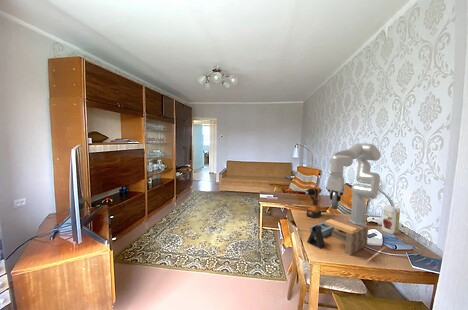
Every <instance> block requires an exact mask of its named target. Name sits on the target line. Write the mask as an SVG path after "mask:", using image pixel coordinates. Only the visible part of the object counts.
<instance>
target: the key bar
mask: <svg viewBox="0 0 468 310" xmlns="http://www.w3.org/2000/svg"><path fill="white" fill-rule="evenodd" d="M324 223H325V224H326V225H329V226H331V227H334V228H335V229H336V228H337V229H339V230H342V231H344V232H347V233H350V234H354V233H355V232H357V227H354V226H351V225H349V224H345V223H343V222H340V221H337V220H335V219H331V218H330V219H326V220H325V222H324Z"/></svg>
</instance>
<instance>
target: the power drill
mask: <svg viewBox="0 0 468 310" xmlns="http://www.w3.org/2000/svg"><path fill="white" fill-rule="evenodd" d="M320 193H322V188H320V187H319V186H317V187H311V188H309V189H307V190H305V192H304V194H305V195H306V196H310V198H311V200H312V206H311V207H309V208H307V210H306V216H307V217H310V218H313V219H316V218H318V217H319V216H322V210H321V209H322V208H321V206H319V199H318V198H319V197H318V196H319V195H320Z"/></svg>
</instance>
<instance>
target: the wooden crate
mask: <svg viewBox="0 0 468 310" xmlns="http://www.w3.org/2000/svg"><path fill="white" fill-rule="evenodd" d="M356 228H357V232H355V233H354V234H350V233H347V232H344V231H342V230H339V229H337V228H335V229H334V230H332V233H331V237H332V238H336V239H338V240H339V241H342V242H345V244H344V253H345V254H347V255H349V256H351V255H353V254H354V253H356V252H357V251H359V250H362V248H364V247H366V246H367V245H368V236H369V225H368V224H367V225H364V224H362V225H358V226H356Z"/></svg>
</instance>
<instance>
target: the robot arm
mask: <svg viewBox="0 0 468 310" xmlns="http://www.w3.org/2000/svg"><path fill="white" fill-rule="evenodd" d="M381 156H382V155H381V151H380V150H379V149H378V148H377V146H376V145H374V144H372V143H364V142H363V143H355V144H354V145H352V146H351V147H350V148H348V149H344V150H339V151H337V152H335V153H332V155H331V156H330V157H329V163H330V171H328V174H329V176H328V178H327V185H326V187H325V189H326V191H327V192H328V194H329V199H330V201H332V191H337V192H338V196H337V201H338V202H341V200H342V195H344V194H347V192H348V191H347V190H346V187H345V185H346V184H345V177H344V167H345V168H347V167H351V166H352V165H353V163H354V162H353V161H354V160H357V165H358V166H357V172H356V176H355V179H356V181H357V182H358V183H354V184H353V185H352V186H351V195H352V196H351V199H352V200H351V212H350V217H349V218H348V221H349V222H350V223H351V224H353V225H357V226H361V225H362V224H364V225H367V226H368V222H367V221H366V210H367V209H366V208H367V206H366V205H367V202H366V199H365V198H367V199H372V200H374V199H376V198H377V197H378V194H379V188H380V183H381V176H380V174H379V173H377V172H371V170H372V166H371V163H370V162H369V161H372V162H373V161H374V162H376V161H379V160H380V158H381ZM366 184H367V185H366Z"/></svg>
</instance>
